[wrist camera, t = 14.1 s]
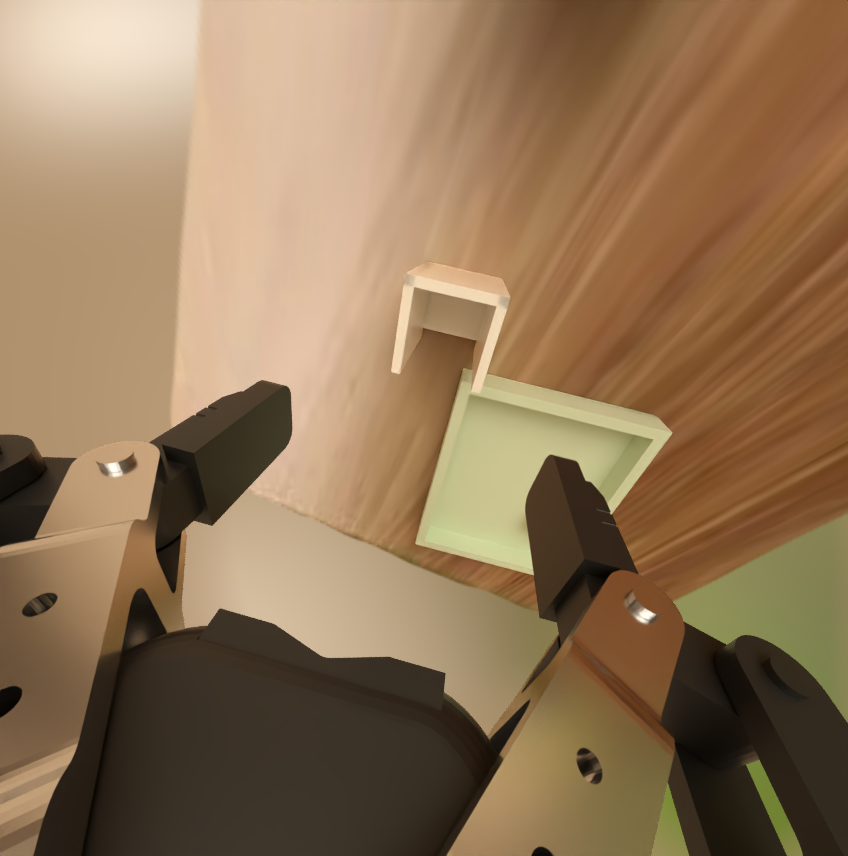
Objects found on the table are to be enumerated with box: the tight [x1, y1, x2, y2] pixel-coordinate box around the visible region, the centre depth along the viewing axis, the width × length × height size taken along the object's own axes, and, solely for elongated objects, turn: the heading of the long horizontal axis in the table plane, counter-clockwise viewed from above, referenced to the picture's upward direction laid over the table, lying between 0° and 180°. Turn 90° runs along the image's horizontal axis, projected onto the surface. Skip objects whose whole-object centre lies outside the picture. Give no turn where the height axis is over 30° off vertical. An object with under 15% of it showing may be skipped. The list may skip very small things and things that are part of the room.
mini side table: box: [391, 261, 510, 393], centre depth 23 cm, size 6×6×9 cm
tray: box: [415, 368, 672, 575], centre depth 34 cm, size 18×22×3 cm
